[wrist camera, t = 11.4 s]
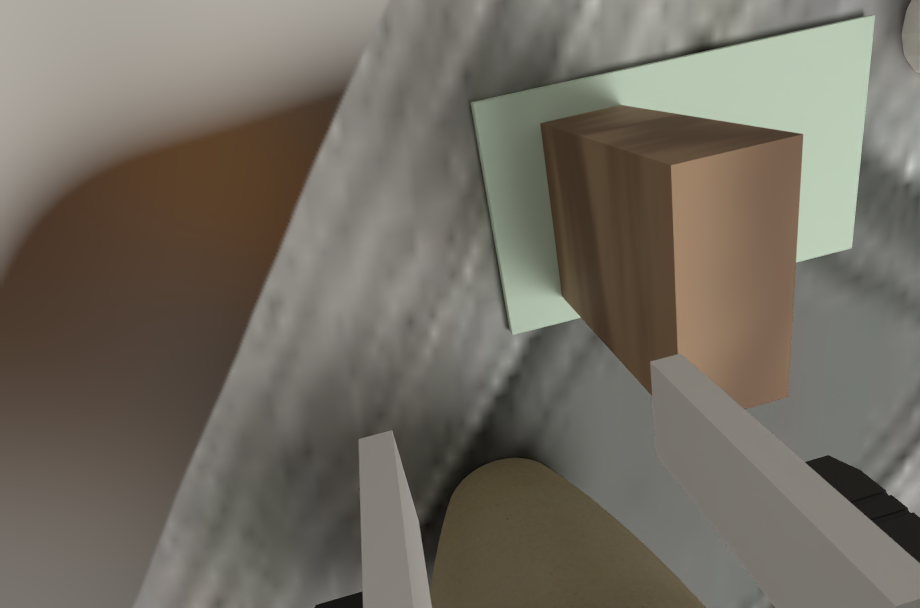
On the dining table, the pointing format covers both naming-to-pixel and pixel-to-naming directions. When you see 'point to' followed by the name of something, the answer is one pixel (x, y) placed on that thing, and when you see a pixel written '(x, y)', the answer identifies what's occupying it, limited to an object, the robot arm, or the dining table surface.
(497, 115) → the mat
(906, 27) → the white mug
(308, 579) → the dining table surface
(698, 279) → the walnut slab
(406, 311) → the dining table surface
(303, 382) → the dining table surface
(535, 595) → the plant pot
